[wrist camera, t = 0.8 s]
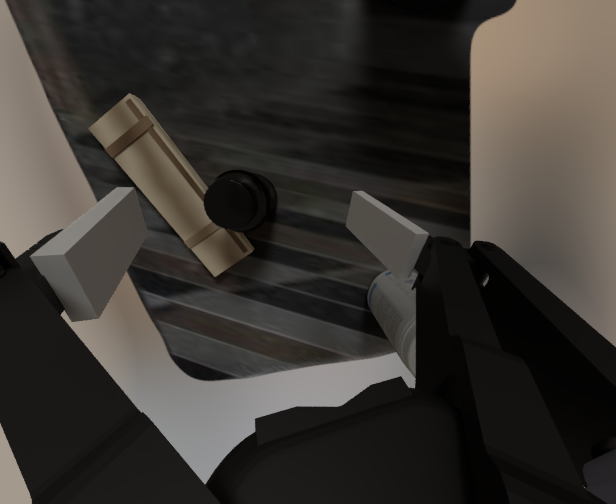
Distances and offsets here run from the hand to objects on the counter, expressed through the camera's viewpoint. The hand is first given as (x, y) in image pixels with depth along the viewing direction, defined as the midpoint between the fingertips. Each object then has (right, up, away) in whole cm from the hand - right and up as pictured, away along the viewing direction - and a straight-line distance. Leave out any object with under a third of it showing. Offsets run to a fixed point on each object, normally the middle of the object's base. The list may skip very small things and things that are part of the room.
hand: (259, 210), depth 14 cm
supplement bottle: (-5, +5, +18) cm, 20 cm away
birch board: (-15, +5, +18) cm, 24 cm away
